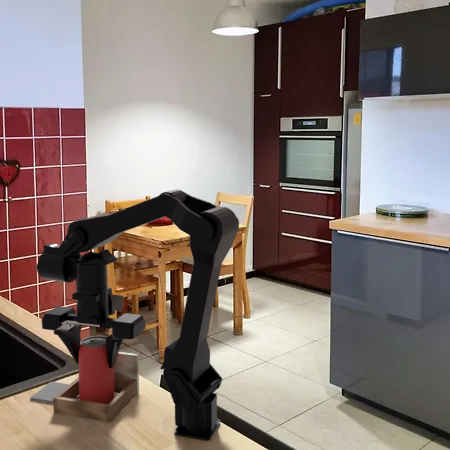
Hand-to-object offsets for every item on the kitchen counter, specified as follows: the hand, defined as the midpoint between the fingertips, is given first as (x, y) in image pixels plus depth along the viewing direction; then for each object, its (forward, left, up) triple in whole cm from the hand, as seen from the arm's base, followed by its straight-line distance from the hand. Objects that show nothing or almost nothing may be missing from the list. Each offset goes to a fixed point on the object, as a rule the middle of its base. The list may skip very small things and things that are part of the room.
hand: (95, 365), depth 108 cm
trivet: (+10, -1, -8) cm, 12 cm away
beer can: (0, 0, -8) cm, 8 cm away
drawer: (0, 0, -8) cm, 8 cm away
